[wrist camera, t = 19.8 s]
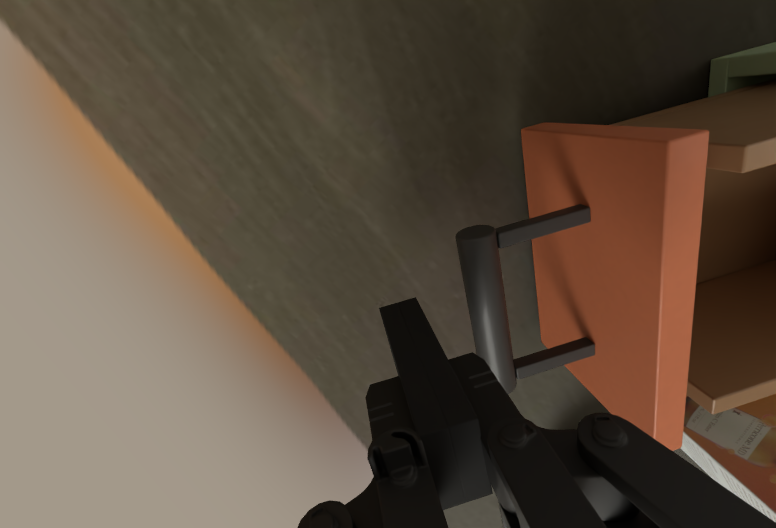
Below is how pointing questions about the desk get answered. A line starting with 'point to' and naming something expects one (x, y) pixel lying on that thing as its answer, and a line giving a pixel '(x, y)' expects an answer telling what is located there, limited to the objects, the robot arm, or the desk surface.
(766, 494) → the small box
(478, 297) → the drawer
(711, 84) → the cabinet
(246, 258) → the desk surface
